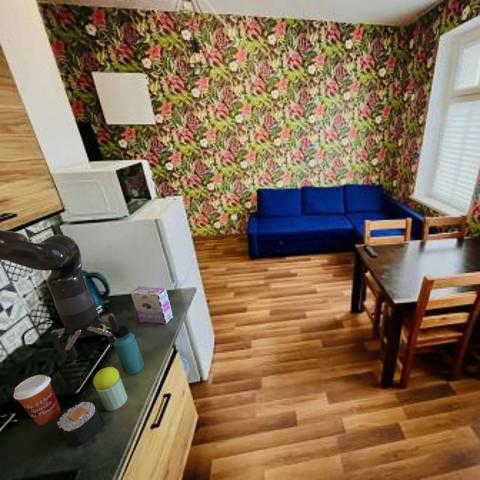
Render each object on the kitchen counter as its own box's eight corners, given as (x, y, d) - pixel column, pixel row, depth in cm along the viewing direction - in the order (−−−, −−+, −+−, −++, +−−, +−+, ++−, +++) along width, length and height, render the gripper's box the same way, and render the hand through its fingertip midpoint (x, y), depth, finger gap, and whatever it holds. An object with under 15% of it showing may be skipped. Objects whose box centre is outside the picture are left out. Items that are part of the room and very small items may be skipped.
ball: (92, 396, 82) (86, 381, 79) (102, 379, 87) (96, 364, 85) (117, 391, 83) (111, 376, 81) (124, 374, 89) (119, 360, 86)
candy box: (174, 317, 128) (166, 288, 121) (166, 325, 122) (158, 295, 116) (147, 314, 129) (139, 285, 123) (138, 322, 124) (129, 292, 117)
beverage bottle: (149, 365, 102) (136, 323, 94) (135, 380, 96) (120, 337, 88) (134, 362, 103) (120, 321, 95) (120, 377, 97) (103, 334, 89)
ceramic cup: (101, 413, 85) (92, 393, 81) (109, 395, 90) (101, 376, 87) (123, 408, 86) (115, 388, 83) (130, 391, 92) (123, 372, 88)
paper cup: (32, 434, 79) (11, 401, 73) (30, 416, 83) (11, 384, 78) (67, 414, 84) (50, 383, 79) (63, 399, 89) (47, 368, 83)
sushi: (91, 413, 85) (83, 396, 81) (108, 424, 82) (100, 406, 78) (60, 438, 78) (50, 420, 75) (78, 451, 75) (68, 433, 72)
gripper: (108, 291, 80) (122, 333, 87) (43, 307, 72) (64, 352, 79) (108, 303, 75) (123, 347, 81) (37, 323, 67) (60, 370, 73)
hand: (94, 350), depth 80 cm, fingers open, 8 cm apart
